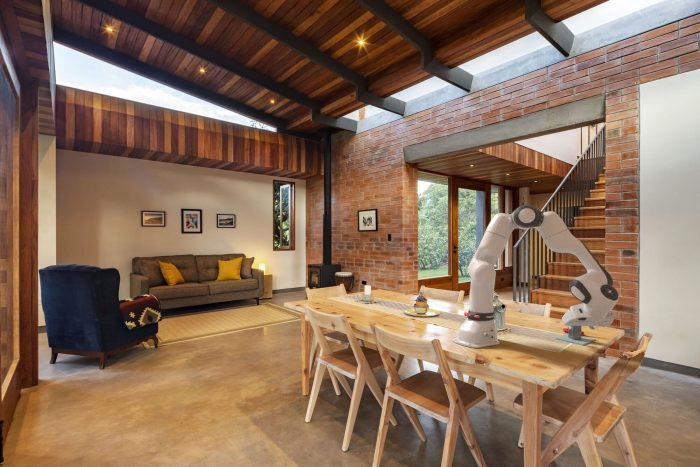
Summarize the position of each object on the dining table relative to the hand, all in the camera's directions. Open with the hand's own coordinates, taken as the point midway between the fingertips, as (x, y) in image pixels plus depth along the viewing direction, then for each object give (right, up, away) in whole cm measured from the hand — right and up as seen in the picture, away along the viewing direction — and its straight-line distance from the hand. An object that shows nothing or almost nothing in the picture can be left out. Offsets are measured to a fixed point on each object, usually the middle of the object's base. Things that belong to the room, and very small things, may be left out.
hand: (580, 327), depth 163 cm
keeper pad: (+1, -7, +5) cm, 9 cm away
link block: (0, -7, +5) cm, 8 cm away
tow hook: (+7, -7, +16) cm, 19 cm away
